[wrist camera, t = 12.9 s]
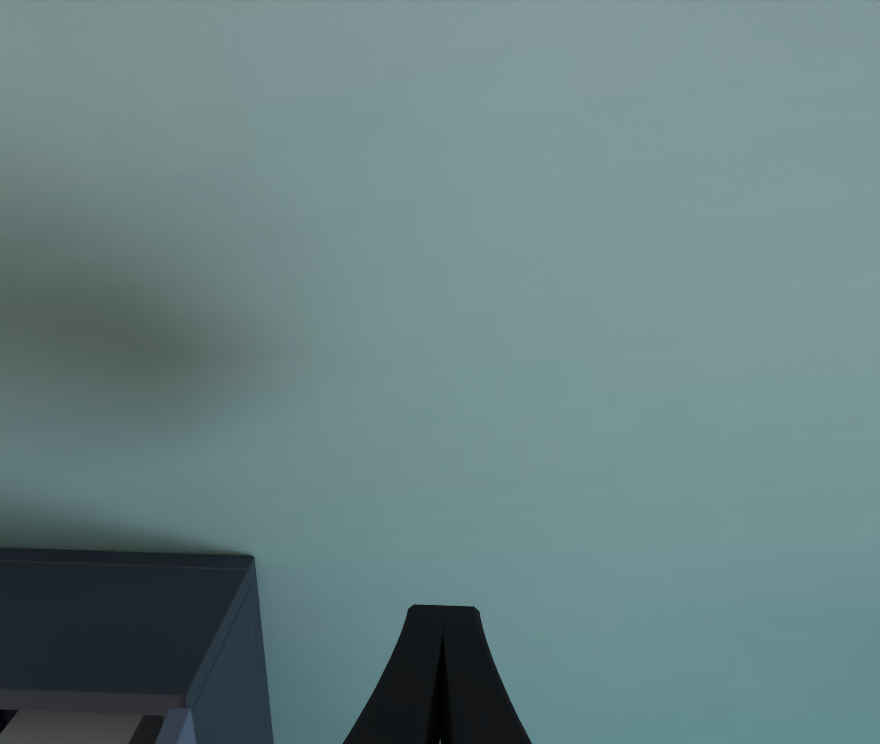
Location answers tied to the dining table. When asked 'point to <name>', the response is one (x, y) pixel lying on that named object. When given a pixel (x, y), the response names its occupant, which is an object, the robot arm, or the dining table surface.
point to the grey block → (80, 728)
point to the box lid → (177, 727)
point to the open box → (135, 638)
